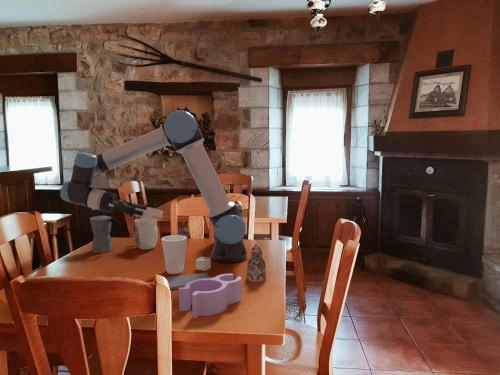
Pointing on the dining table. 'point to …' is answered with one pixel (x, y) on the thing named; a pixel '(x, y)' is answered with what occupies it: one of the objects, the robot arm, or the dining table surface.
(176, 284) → the slate mat
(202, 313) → the clip
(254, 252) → the figurine
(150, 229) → the pitcher
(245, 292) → the dining table surface
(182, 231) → the vegetable
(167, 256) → the foam cup
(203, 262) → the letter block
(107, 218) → the coffeepot
